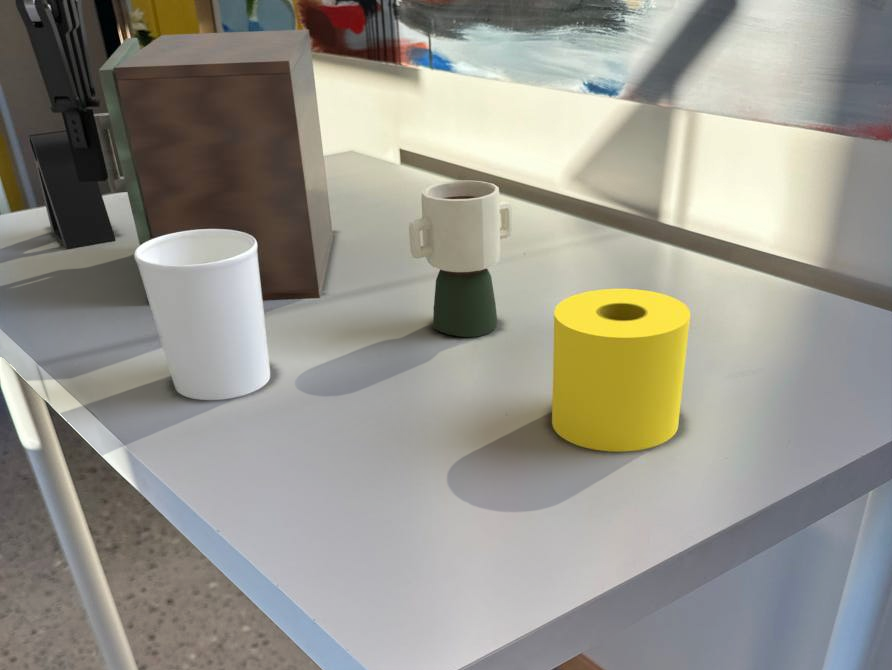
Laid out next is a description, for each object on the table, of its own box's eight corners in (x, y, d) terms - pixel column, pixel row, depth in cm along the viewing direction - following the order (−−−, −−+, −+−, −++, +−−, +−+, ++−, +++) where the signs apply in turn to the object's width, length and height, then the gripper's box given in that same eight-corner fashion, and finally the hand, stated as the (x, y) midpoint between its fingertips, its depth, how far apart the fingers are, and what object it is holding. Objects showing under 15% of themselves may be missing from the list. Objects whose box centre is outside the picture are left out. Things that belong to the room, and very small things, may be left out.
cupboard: (168, 306, 102) (113, 67, 88) (203, 243, 119) (161, 34, 106) (320, 299, 103) (289, 60, 89) (333, 237, 120) (308, 29, 106)
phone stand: (116, 241, 121) (89, 135, 113) (66, 250, 119) (36, 142, 111) (99, 224, 127) (72, 122, 120) (52, 232, 125) (22, 129, 117)
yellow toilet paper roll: (526, 430, 78) (526, 314, 72) (606, 390, 83) (612, 279, 77) (623, 471, 72) (632, 349, 66) (702, 426, 78) (717, 309, 72)
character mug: (491, 309, 99) (488, 172, 91) (532, 330, 94) (533, 187, 86) (399, 333, 95) (387, 191, 86) (437, 356, 90) (428, 208, 82)
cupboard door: (103, 310, 102) (39, 73, 88) (127, 247, 118) (76, 40, 105) (165, 305, 102) (111, 69, 89) (181, 243, 119) (137, 37, 106)
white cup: (161, 374, 88) (128, 237, 81) (268, 356, 91) (245, 222, 84) (174, 418, 81) (139, 273, 74) (289, 397, 84) (267, 255, 76)
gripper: (46, -100, 83) (114, 194, 97) (86, -103, 93) (143, 164, 108) (-43, -99, 82) (39, 196, 97) (7, -102, 93) (74, 165, 107)
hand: (93, 179), depth 102 cm, fingers closed
